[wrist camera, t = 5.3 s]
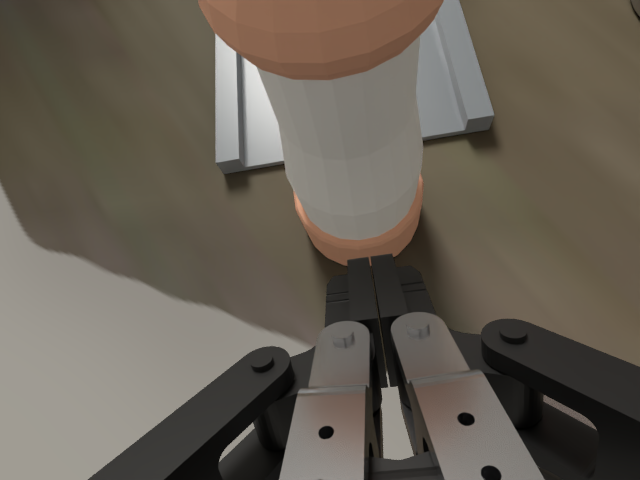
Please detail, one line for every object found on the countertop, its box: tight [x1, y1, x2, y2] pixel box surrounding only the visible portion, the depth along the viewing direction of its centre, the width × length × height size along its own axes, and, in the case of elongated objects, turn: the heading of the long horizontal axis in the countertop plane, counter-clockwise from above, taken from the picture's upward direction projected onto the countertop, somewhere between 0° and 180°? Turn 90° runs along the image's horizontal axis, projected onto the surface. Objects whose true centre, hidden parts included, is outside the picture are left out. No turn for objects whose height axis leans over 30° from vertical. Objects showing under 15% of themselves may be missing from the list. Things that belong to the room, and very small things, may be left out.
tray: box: [216, 0, 494, 174], centre depth 31 cm, size 18×22×2 cm
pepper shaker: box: [198, 0, 444, 266], centre depth 17 cm, size 7×7×19 cm
